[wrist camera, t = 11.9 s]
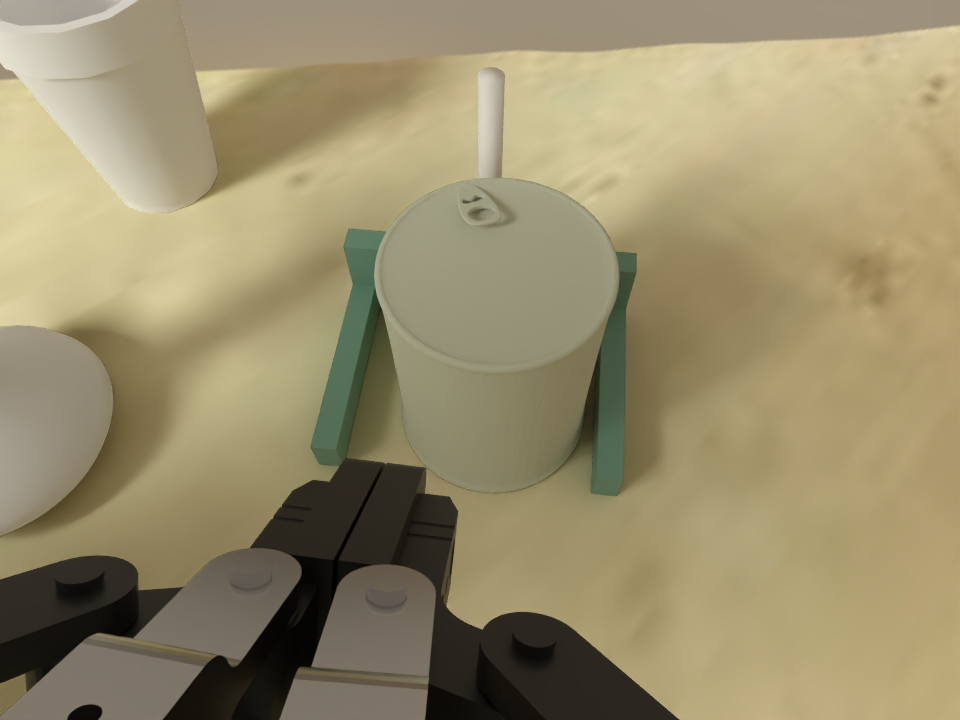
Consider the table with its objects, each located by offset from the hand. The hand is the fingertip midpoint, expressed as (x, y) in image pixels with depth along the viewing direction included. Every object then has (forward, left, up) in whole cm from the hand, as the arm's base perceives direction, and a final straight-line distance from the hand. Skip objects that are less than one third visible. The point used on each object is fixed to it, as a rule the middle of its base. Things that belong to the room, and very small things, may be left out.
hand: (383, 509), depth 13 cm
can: (-1, +12, -20) cm, 23 cm away
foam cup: (-25, +22, -20) cm, 39 cm away
